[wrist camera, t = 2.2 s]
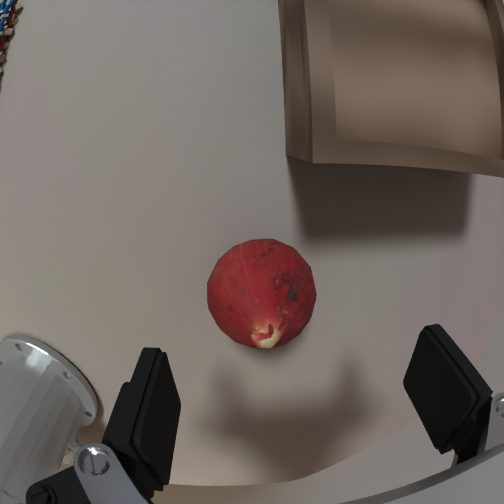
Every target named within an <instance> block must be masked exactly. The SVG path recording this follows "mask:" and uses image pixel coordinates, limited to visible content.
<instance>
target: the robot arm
mask: <svg viewBox="0 0 504 504" xmlns="http://www.w3.org/2000/svg"><path fill="white" fill-rule="evenodd" d="M403 385H404V388H405V390H406V392H407V394H408V396H409V398H410V399H411V401H412V403H413V405H414V407H415V409H416V411H417V413H418V415H419V417H420V419H421V421H422V423H423V425H424V427H425V429H426V431H427V433H428V435H429V437H430V439H431V441H432V443H433V445H434V447H435V448H436V449H438V450H439V452H440V454H444V453H446V452H448V451H451V450H452V449H454V451H455V455H454V459H453V462H452V465H451V468H449V469H447V470H445V471H443V472H440V473H438V474H435V475H433V476H430V477H428V478H425V479H423V480H420V481H417V482H414V483H411V484H409V485H406V486H403V487H400V488H397V489H393V490H390V491H387V492H384V493H380V494H377V495H373V496H369V497H366V498H361V499H358V500H353V501H349V502H344V503H339V504H504V393H499V394H497V395H495V396H494V398H492V397H491V394H492V393H493V391H492V390H491V389H490V387H489V386H488V385H487V383H486V382H485V381H484V379H483V378H482V377H481V375H480V374H479V373H478V371H477V370H476V369H475V367H474V366H473V365H472V363H471V362H470V361H469V360H468V358H467V357H466V356H465V355H464V353H463V352H462V351H461V350H460V348H459V347H458V346H457V345H456V343H455V342H454V341H453V340H452V339H451V337H450V336H449V335H448V334H447V333H446V331H445V330H444V329H443V328H442V327H441V325H439V324H434V325H428V326H425V327H424V328H423V330H422V331H421V332H420V334H419V337H418V340H417V343H416V346H415V349H414V352H413V355H412V358H411V361H410V363H409V366H408V369H407V372H406V374H405V377H404V380H403ZM97 411H98V402H97V399H96V395H95V393H94V392H93V390H92V388H91V386H90V385H89V383H88V382H87V380H86V379H85V378H84V376H83V375H82V374H81V373H80V372H79V371H78V370H77V368H75V367H74V366H73V365H72V364H71V363H70V362H69V361H68V360H67V359H66V358H64V357H63V356H62V355H61V354H59V353H58V352H57V351H55V350H54V349H52V348H51V347H49V346H48V345H46V344H44V343H42V342H40V341H38V340H36V339H33V338H30V337H28V336H23V335H10V336H7V337H5V338H4V339H3V340H2V341H1V342H0V504H155V503H154V502H153V501H152V499H151V498H152V497H153V496H154V490H157V491H163V487H164V485H168V484H169V480H170V473H171V466H172V459H173V453H174V447H175V440H176V434H177V428H178V422H179V416H180V411H181V402H180V398H179V395H178V392H177V388H176V385H175V382H174V378H173V375H172V372H171V368H170V365H169V361H168V357H167V354H166V352H162V351H161V349H160V348H146V347H144V348H143V350H142V352H141V355H140V357H139V360H138V362H137V365H136V368H135V370H134V373H133V376H132V378H131V381H130V382H125V383H124V384H123V385H122V387H121V390H120V392H119V395H118V397H117V400H116V403H115V406H114V408H113V411H112V414H111V416H110V419H109V422H108V425H107V428H106V431H105V433H104V436H103V439H102V442H101V443H89V444H86V445H84V446H81V445H80V444H79V442H78V441H77V440H76V439H75V437H76V435H77V432H78V430H79V428H83V427H86V426H89V425H90V424H91V423H93V421H94V419H95V418H96V414H97ZM71 450H72V451H73V452H75V453H76V454H75V456H74V461H73V464H74V465H73V466H71V467H69V468H67V469H65V470H63V471H60V472H59V469H60V466H61V464H62V461H63V458H64V456H67V455H68V454H69V453H70V452H71Z"/></svg>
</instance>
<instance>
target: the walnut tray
mask: <svg viewBox="0 0 504 504" xmlns="http://www.w3.org/2000/svg"><path fill="white" fill-rule="evenodd" d="M278 5H279V18H280V32H281V48H282V65H283V85H284V107H285V135H286V155H288V156H291V157H294V158H297V159H301V160H304V161H307V162H310V163H332V164H369V165H389V166H405V167H418V168H430V169H441V170H450V171H459V172H467V173H475V174H482V175H489V176H496V177H502V178H504V4H503V1H502V0H278Z"/></svg>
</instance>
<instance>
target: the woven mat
mask: <svg viewBox="0 0 504 504" xmlns="http://www.w3.org/2000/svg"><path fill="white" fill-rule="evenodd" d="M17 1H18V0H10V3H9V4H8V5H7V6H6V4H5V3H6V2H7V0H3V1H2V3H0V39H2V40H1V41H0V63H1V62H4V58H5V55H2V52H1V51H2V49H5V48H7V47H8V44H9V42H6V43H4V42H5V41H6V40H7V39H8V37H9V35H12V31H13V28H11V26H10V25H13V24H16V23H17V22H18V19H19V18H18V19H13V20H12V16H13V13H15V12H17V11H19V10H20V9H21V8H22V5H21V3H19V4H17ZM10 7H11V8H10ZM5 28H6V29H5ZM1 73H2V68H1V66H0V74H1ZM0 86H1V81H0Z"/></svg>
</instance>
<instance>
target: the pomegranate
mask: <svg viewBox="0 0 504 504" xmlns="http://www.w3.org/2000/svg"><path fill="white" fill-rule="evenodd" d="M316 295H317V294H316V289H315V284H314V280H313V275H312V270H311V267H310V266H309V265H308V264H307V262H306V261H305V260H304V259H303V258H302V256H301V255H300V254H299V253H298V252H297V251H296V250H295V249H294V248H293V247H291V246H289V245H286V244H284V243H282V242H279V241H277V240H274V239H256V240H250V241H247V242H244V243H242V244H239V245H236V246H234V247H232V248H231V249H230V250H229V251H228V252H226V253H225V254H224V255H223V256H222V257H221V258H220V259H219V260H218V261H217V263H216V265H215V267H214V269H213V271H212V274H211V276H210V278H209V280H208V282H207V302H208V308H209V310H210V312H211V314H212V316H213V318H214V320H215V322H216V324H217V325H218V327H219V328H220V329H221V330H222V331H223V332H224V333H225V334H227V335H228V336H229V337H230V338H231V339H232V340H234V341H235V342H237V343H240V344H243V345H246V346H249V347H253V348H260V349H262V348H266V349H272V348H274V347H277V346H281V345H284V344H286V343H287V342H289V341H290V340H292V339H293V338H295V337H296V336H298V335H299V334H300V333H301V331H302V330H303V329H304V327H305V326H306V325H307V323H308V322H309V320H310V318H311V316H312V312H313V309H314V305H315V301H316Z"/></svg>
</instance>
